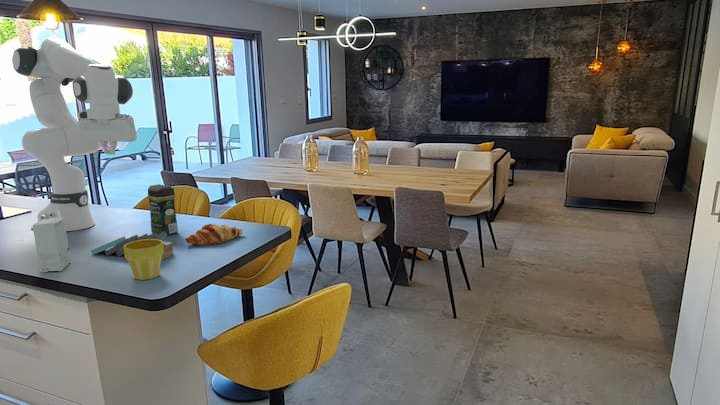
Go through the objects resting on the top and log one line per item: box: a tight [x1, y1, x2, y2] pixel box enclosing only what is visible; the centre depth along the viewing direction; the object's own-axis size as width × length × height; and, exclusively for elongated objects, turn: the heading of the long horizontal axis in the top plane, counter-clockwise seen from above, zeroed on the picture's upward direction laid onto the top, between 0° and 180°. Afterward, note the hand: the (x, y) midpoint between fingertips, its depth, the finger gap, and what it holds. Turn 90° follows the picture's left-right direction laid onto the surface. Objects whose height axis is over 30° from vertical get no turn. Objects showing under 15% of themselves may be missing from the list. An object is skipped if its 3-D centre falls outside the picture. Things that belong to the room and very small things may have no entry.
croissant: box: [185, 223, 244, 246], centre depth 169 cm, size 21×10×8 cm, turn 131°
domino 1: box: [90, 236, 127, 256], centre depth 155 cm, size 2×5×10 cm
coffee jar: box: [147, 184, 179, 236], centre depth 176 cm, size 10×8×19 cm
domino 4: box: [144, 233, 157, 239], centre depth 152 cm, size 2×5×10 cm
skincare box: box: [32, 217, 72, 273], centre depth 140 cm, size 8×6×15 cm
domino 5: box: [152, 231, 168, 241], centre depth 151 cm, size 2×5×10 cm
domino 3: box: [115, 233, 149, 258], centre depth 153 cm, size 2×5×10 cm
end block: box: [161, 241, 174, 261], centre depth 151 cm, size 4×8×4 cm, turn 168°
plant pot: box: [123, 239, 164, 281], centre depth 135 cm, size 10×10×10 cm
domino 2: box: [104, 234, 139, 257], centre depth 153 cm, size 2×5×10 cm
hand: (110, 154), depth 162 cm, fingers closed
